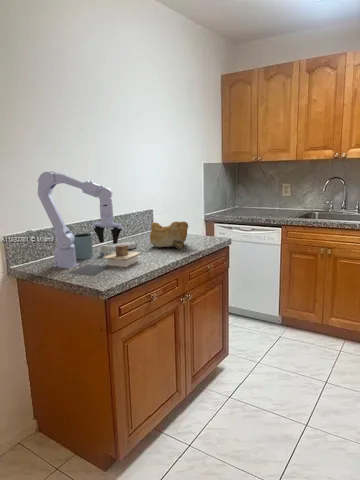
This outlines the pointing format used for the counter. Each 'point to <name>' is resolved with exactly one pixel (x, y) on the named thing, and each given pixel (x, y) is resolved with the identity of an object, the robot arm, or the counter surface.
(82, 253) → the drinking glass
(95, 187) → the robot arm
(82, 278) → the counter surface
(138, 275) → the counter surface
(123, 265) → the dish
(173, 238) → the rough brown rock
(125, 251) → the lid
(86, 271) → the mat
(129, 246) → the toothpaste tube
